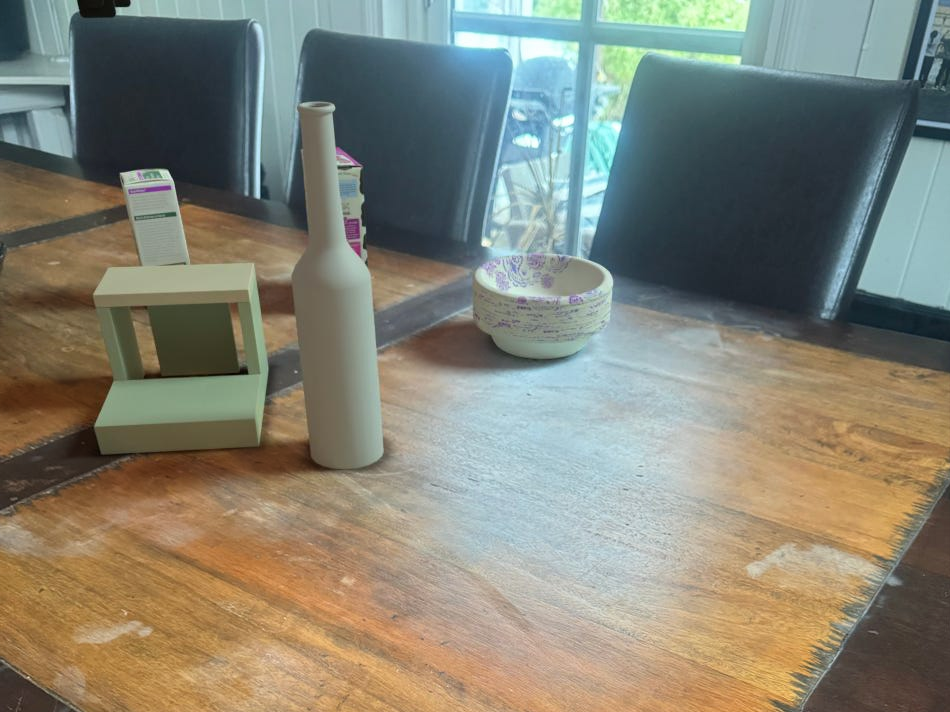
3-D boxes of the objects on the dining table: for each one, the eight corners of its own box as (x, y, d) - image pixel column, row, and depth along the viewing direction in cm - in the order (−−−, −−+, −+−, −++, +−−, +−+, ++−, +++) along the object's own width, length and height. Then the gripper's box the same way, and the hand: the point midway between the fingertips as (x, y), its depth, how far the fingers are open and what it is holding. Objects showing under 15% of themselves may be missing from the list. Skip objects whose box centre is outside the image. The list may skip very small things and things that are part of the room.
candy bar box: (373, 313, 114) (364, 164, 104) (333, 318, 113) (319, 168, 102) (350, 284, 122) (339, 144, 112) (312, 289, 121) (297, 147, 111)
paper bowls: (534, 383, 98) (538, 307, 93) (445, 340, 107) (444, 269, 102) (635, 348, 106) (643, 276, 101) (544, 311, 115) (547, 243, 110)
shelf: (101, 457, 85) (68, 335, 78) (133, 376, 99) (108, 267, 92) (259, 448, 86) (240, 328, 79) (269, 370, 100) (253, 262, 93)
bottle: (372, 433, 89) (347, 94, 72) (392, 464, 84) (371, 109, 67) (303, 444, 87) (261, 99, 70) (320, 477, 82) (279, 115, 65)
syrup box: (199, 306, 116) (176, 177, 107) (149, 312, 114) (122, 182, 105) (192, 291, 120) (169, 166, 111) (144, 297, 118) (117, 170, 109)
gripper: (34, -219, 87) (83, 4, 98) (-14, -238, 74) (48, 22, 84) (118, -218, 88) (157, 3, 99) (86, -237, 75) (135, 21, 85)
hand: (107, 11), depth 91 cm, fingers open, 9 cm apart
